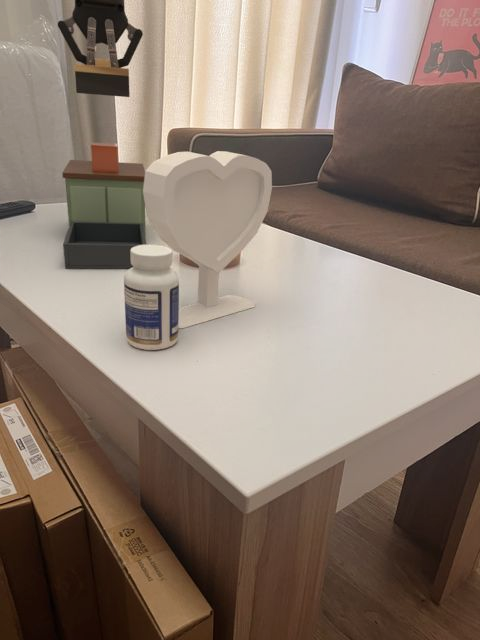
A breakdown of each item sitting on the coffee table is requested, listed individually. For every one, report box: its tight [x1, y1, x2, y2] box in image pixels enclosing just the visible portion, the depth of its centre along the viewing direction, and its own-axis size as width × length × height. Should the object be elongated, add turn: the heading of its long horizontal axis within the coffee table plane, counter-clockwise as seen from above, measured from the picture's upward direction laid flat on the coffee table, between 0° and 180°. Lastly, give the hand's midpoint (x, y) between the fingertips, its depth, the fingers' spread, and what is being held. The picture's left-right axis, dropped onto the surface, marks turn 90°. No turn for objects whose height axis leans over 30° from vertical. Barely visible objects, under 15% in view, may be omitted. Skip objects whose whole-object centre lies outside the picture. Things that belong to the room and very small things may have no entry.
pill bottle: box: [123, 244, 180, 351], centre depth 53 cm, size 5×5×10 cm
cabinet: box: [62, 159, 147, 238], centre depth 90 cm, size 13×15×11 cm
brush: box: [74, 58, 131, 98], centre depth 85 cm, size 9×8×5 cm
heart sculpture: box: [143, 150, 273, 329], centre depth 60 cm, size 16×5×18 cm, turn 136°
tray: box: [62, 221, 148, 270], centre depth 79 cm, size 11×13×4 cm
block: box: [90, 141, 119, 173], centre depth 84 cm, size 4×4×4 cm
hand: (104, 93), depth 88 cm, fingers closed on brush
